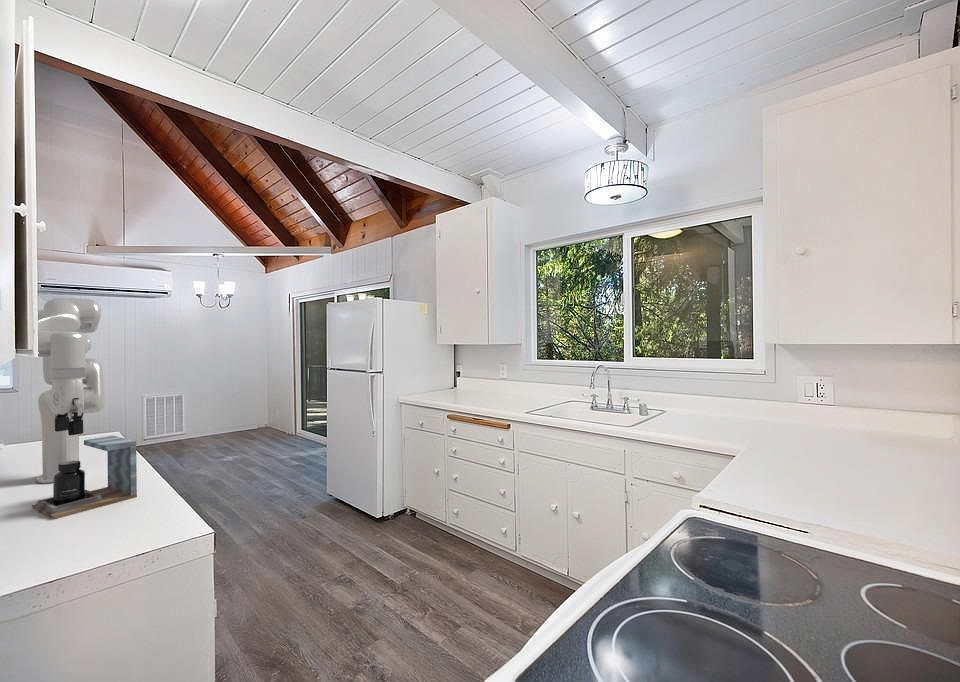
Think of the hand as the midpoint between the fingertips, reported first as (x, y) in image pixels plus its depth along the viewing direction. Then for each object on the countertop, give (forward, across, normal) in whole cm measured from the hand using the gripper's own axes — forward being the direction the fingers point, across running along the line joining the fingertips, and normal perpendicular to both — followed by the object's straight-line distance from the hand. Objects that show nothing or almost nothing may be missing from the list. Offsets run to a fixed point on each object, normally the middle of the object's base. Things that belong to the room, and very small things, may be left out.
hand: (69, 432), depth 130 cm
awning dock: (+22, 0, +4) cm, 22 cm away
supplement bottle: (+21, 0, 0) cm, 21 cm away
